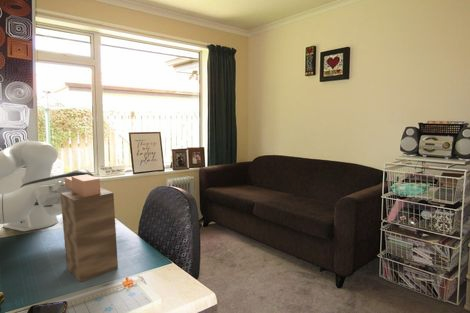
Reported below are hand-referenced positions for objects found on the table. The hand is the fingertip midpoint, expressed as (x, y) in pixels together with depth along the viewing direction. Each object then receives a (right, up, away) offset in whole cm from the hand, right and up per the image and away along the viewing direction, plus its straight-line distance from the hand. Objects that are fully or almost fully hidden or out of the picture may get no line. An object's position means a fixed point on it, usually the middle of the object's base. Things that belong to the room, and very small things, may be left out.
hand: (73, 181), depth 107 cm
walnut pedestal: (+8, -29, -4) cm, 30 cm away
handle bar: (+4, -2, -4) cm, 6 cm away
